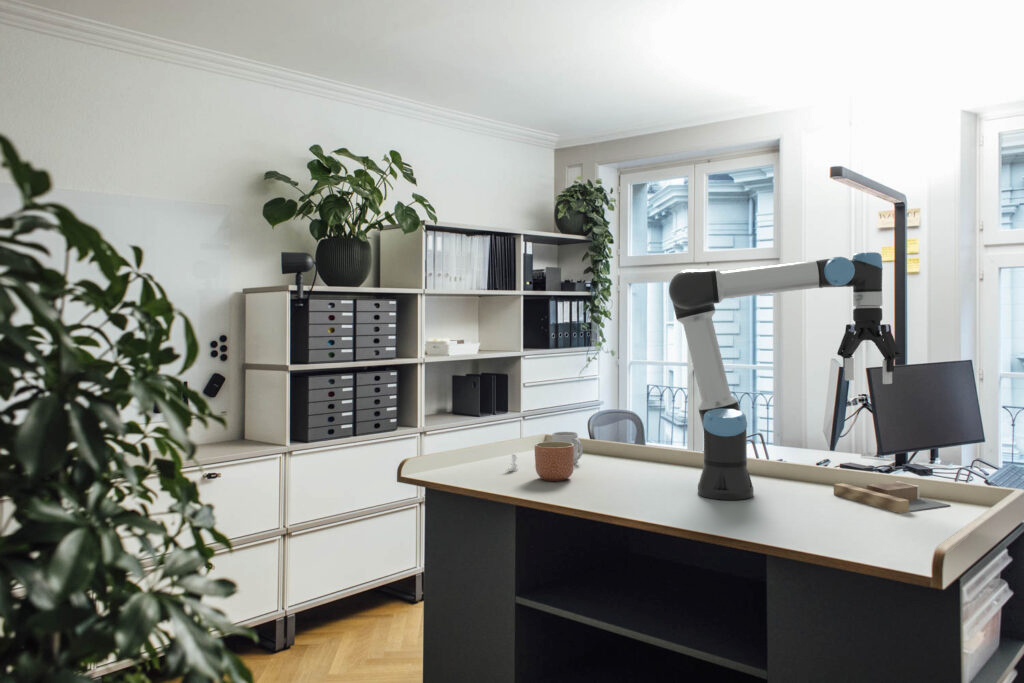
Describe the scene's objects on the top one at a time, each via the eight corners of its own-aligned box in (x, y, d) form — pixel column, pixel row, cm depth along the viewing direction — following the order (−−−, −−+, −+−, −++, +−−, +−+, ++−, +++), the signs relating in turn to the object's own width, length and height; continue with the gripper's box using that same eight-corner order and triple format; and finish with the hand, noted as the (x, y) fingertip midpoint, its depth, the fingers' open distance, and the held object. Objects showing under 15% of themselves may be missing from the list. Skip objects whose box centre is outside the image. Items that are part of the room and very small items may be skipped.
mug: (550, 460, 269) (550, 432, 269) (577, 459, 270) (576, 431, 270) (555, 466, 258) (555, 436, 258) (583, 464, 259) (582, 435, 259)
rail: (833, 494, 211) (833, 484, 211) (842, 493, 212) (842, 483, 212) (899, 513, 190) (899, 501, 190) (908, 512, 191) (908, 500, 191)
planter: (569, 484, 229) (568, 448, 229) (529, 482, 233) (529, 446, 233) (578, 476, 241) (578, 441, 241) (541, 474, 245) (540, 440, 245)
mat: (843, 493, 212) (843, 492, 212) (881, 488, 217) (881, 487, 217) (910, 511, 192) (910, 510, 192) (950, 506, 197) (950, 504, 197)
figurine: (509, 475, 246) (508, 456, 246) (497, 471, 253) (497, 453, 253) (529, 472, 250) (529, 454, 250) (517, 468, 257) (517, 450, 257)
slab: (866, 485, 205) (897, 481, 210) (866, 497, 205) (897, 493, 210) (888, 490, 199) (919, 486, 203) (888, 503, 199) (919, 499, 203)
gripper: (824, 308, 225) (824, 379, 226) (894, 306, 202) (894, 386, 203) (844, 308, 228) (844, 378, 229) (915, 306, 205) (915, 384, 205)
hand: (867, 382), depth 216 cm, fingers open, 13 cm apart
